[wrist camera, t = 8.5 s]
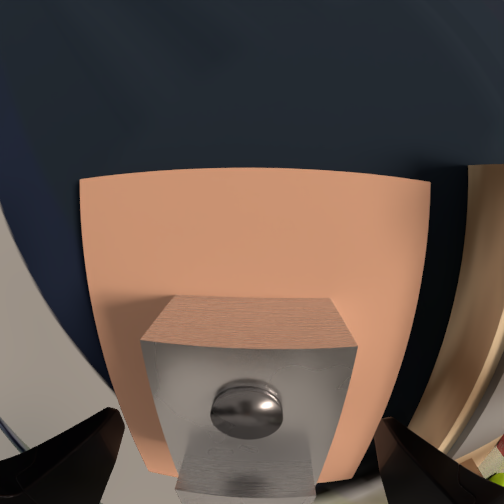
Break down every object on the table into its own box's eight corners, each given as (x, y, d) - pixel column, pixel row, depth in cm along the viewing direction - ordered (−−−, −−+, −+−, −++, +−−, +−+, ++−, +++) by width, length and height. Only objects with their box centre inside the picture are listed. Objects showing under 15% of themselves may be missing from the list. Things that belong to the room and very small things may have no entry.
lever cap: (303, 449, 10) (312, 526, 6) (198, 445, 10) (179, 521, 6) (329, 297, 9) (380, 386, 4) (175, 294, 9) (112, 376, 4)
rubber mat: (349, 471, 12) (351, 478, 11) (151, 464, 12) (149, 471, 12) (421, 182, 8) (430, 182, 8) (88, 179, 9) (79, 179, 8)
